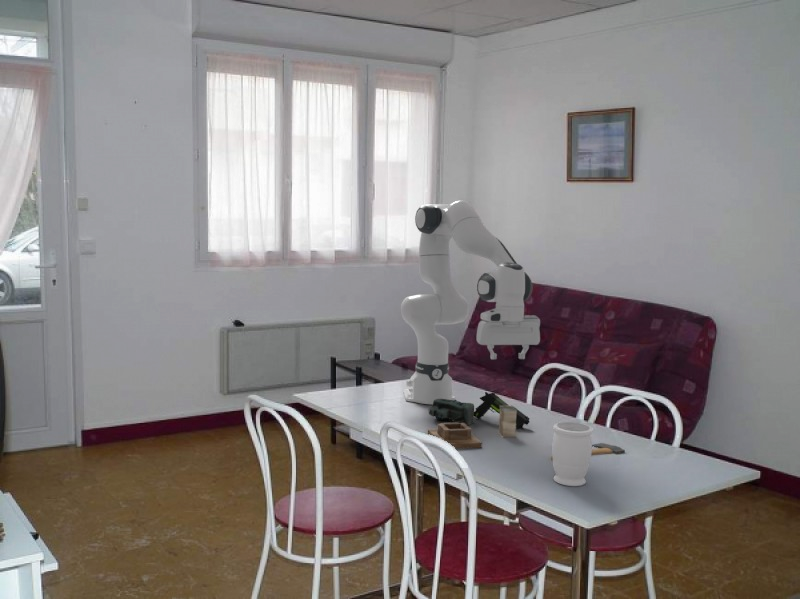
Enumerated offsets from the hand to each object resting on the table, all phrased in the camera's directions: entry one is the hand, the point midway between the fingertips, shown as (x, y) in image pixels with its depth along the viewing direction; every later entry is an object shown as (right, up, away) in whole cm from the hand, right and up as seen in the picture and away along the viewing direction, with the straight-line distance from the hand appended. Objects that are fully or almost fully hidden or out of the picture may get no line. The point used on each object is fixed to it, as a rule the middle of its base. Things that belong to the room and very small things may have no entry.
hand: (507, 358), depth 263 cm
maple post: (0, -24, +3) cm, 24 cm away
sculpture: (-16, -22, +17) cm, 32 cm away
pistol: (0, -23, +16) cm, 28 cm away
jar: (+11, -30, -39) cm, 51 cm away
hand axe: (+20, -28, -13) cm, 37 cm away
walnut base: (-17, -25, -6) cm, 31 cm away
